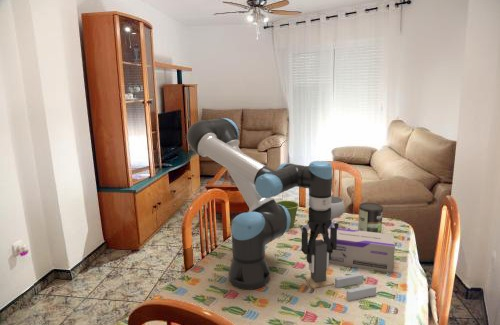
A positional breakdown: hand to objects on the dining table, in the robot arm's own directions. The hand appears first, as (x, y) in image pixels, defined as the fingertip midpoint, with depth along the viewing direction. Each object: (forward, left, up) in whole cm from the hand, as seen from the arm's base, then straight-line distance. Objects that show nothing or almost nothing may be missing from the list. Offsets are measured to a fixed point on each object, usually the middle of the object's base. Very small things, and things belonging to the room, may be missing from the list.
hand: (318, 269), depth 118 cm
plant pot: (+7, +49, -5) cm, 50 cm away
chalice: (+25, +39, -5) cm, 47 cm away
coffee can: (+39, +27, -5) cm, 48 cm away
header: (+9, -9, -4) cm, 13 cm away
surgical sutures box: (+21, +8, -5) cm, 23 cm away
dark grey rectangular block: (0, 0, -4) cm, 4 cm away
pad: (0, 0, -4) cm, 4 cm away
